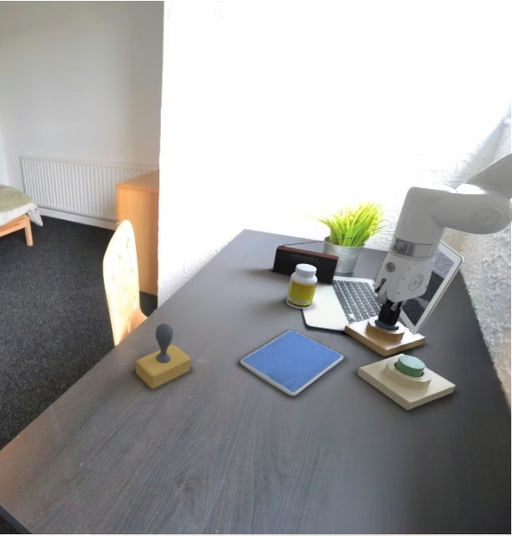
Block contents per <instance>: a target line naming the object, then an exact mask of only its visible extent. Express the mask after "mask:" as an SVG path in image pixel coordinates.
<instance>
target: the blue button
mask: <svg viewBox="0 0 512 536" xmlns="http://www.w3.org/2000/svg"><path fill="white" fill-rule="evenodd" d="M376 325H377V326H379V327H380V328H383V329H386V330H393V331H395V330H397V327H398V323H396V324H394V325H388V324H386V323H384V322H382V321H381V320H379V319H378V318H377V321H376Z"/></svg>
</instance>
